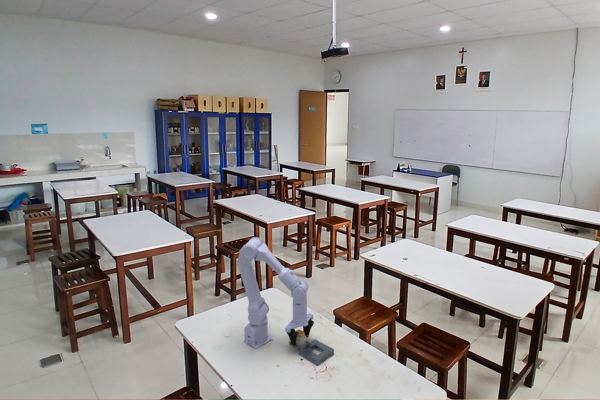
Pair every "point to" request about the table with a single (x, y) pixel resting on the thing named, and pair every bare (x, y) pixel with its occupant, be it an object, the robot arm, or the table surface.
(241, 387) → the table surface
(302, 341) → the plug
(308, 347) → the port block
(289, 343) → the grey mounting plate
